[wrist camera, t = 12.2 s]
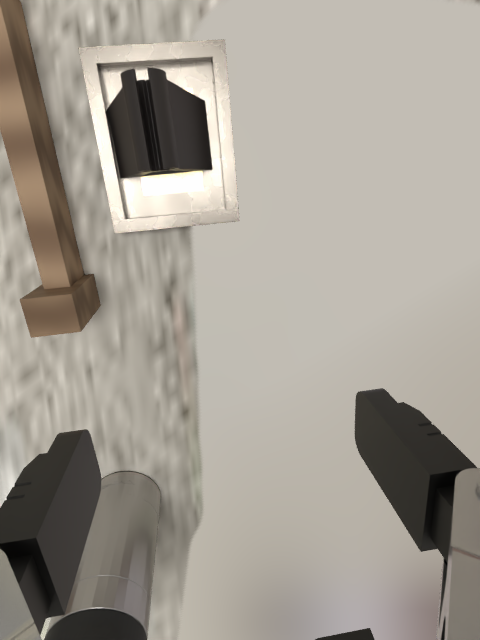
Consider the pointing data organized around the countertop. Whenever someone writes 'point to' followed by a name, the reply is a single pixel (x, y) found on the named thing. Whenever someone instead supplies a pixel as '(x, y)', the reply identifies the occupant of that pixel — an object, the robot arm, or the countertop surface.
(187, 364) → the countertop surface
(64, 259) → the door-edge rail
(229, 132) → the silver shallow tray
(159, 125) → the phone stand
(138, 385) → the countertop surface
